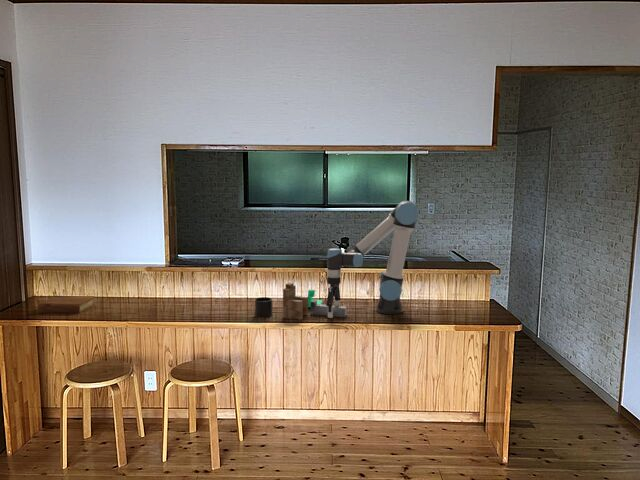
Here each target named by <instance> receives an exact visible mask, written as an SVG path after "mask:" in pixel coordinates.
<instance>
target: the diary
mask: <svg viewBox="0 0 640 480" xmlns="http://www.w3.org/2000/svg"><path fill="white" fill-rule="evenodd" d="M94 299H95V296H94V295H93V296H92V295H91V296H90V295H88V296H87V295H86V296H85V295H83V296H82V295H55V296H53V297H51V298H49V299H46V300H44V301H43V302H39V304H38V307H37V308H38V313H39V312H40V313H41V314H43V313H44V314H81V313H83V312H84V311H86V310H88V309H90V308H92V307H93V306H95V303H94ZM40 313H39V314H40Z"/></svg>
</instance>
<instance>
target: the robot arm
mask: <svg viewBox="0 0 640 480" xmlns="http://www.w3.org/2000/svg"><path fill="white" fill-rule="evenodd" d="M418 208H419V207H418V206H417V205H416V204H415V203H414V202H413V201H411V200H402V201H400V202H399V203H398V204H397V205H396V206H395V208H393V209H392V211H390V212H389V213H388V216H387V218H385V219H384V220H383V221H382V222H381V223H380V224H378V225H377V226H376V227H375V228H374V229H373V230H372V231H369V233H368V234H367V235H366V236H365V237H364V238H363V239H361V240H360V241H359V242H358V243H357V244H356V245H354V246H353V247H352V248H351V249H349V250H348V251H347V252H342V250H341V248H334V247H333V248H328V250H327V257H326V259H327V260H326V267H327V269H326V272H327V273H326V274H327V278H326V283H327V284H328V285H329V287H328V288H327V298H326V304H325V305H326V306H328V316H327V318H328V319H329V318H330V319H333V318H334V316H333V306H332V305H335V306H340V301H341V300H342V299H341V291H340V284H341V282H342V281H341V279H342V278H341V275H342V273H341V272H342V268H341V267H352V268H353V267H355V268H357V267H362V266H363V257H364V256H365V255H366V254H367V253H369V252H370V251H371V250H372V249H374V248H375V247H376V246H377V245H378V244H380V242H382V241H383V240H384V239H385V238H387V236H389V235H391V233H392V232H393V231H394V233H393V237H392V241H391V246H390V250H389V251H390V252H389V256H388V259H387V264H386V270H385V271H380V275H379V289H378V290H379V298H378V302H377V305H376V306H375V307H376V308H375V309H376V312H377V313H379V314H385V315H398V314H401V313H403V311H404V307H403V304H402V303H403V302H402V301H401V295H402V292H403V289H402V288H403V283H404V279H405V277H404V275H403V270H404V265H405V262H406V261H405V260H406V255H407V251H408V247H409V242H410V237H411V233H412V231H413V230H414V229H415V228H416V224H417V220H418V218H419V214H420V213H419V209H418Z"/></svg>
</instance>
